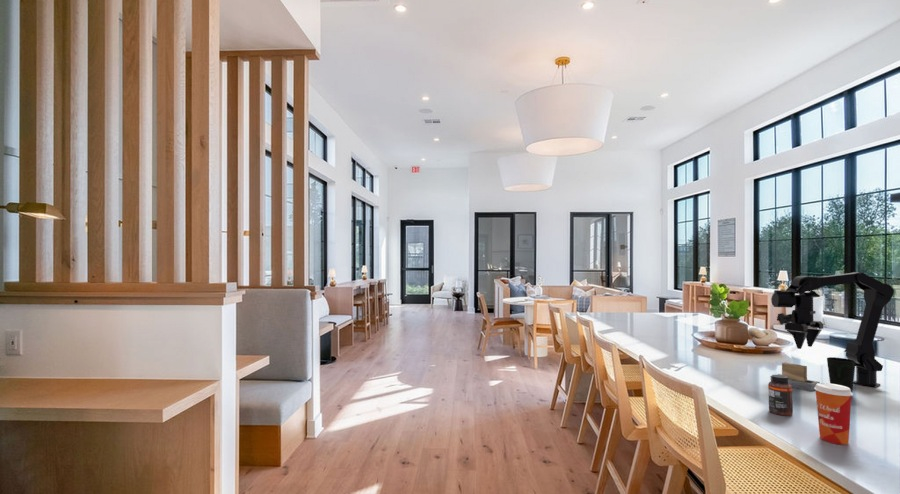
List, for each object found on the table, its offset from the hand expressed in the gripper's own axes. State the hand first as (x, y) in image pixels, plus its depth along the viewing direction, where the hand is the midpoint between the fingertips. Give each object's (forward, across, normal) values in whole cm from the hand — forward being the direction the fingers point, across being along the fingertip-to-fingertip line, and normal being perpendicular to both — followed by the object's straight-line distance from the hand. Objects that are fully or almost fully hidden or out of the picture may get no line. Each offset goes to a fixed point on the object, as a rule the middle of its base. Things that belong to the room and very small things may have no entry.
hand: (804, 347), depth 173 cm
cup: (+13, +9, +14) cm, 21 cm away
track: (+13, +12, +1) cm, 17 cm away
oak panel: (+12, +11, +1) cm, 17 cm away
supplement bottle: (+13, +52, +13) cm, 55 cm away
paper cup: (+13, +64, +30) cm, 72 cm away
